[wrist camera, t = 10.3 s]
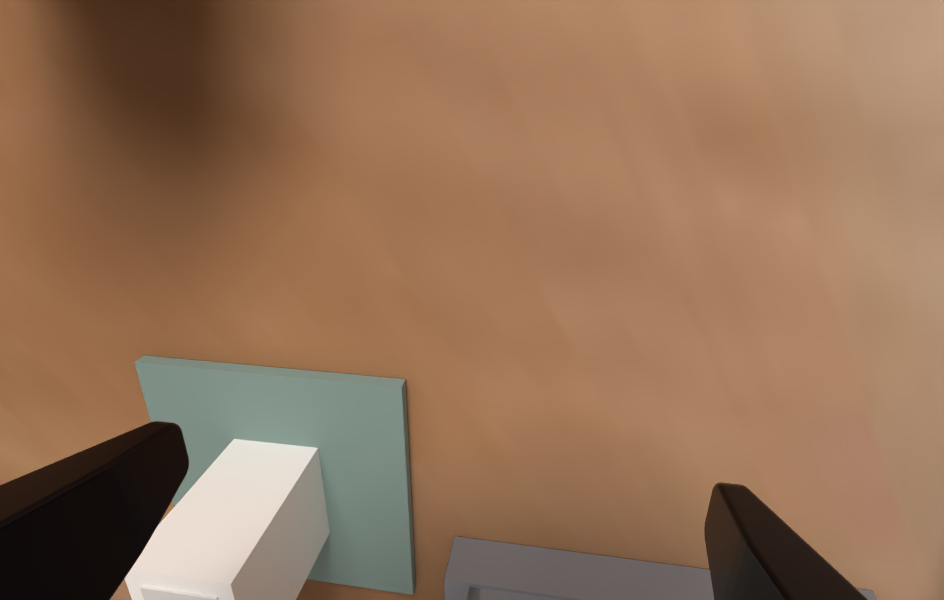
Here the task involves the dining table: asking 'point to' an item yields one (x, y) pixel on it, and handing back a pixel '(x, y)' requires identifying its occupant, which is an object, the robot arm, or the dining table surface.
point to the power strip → (566, 575)
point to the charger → (239, 529)
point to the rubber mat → (311, 425)
